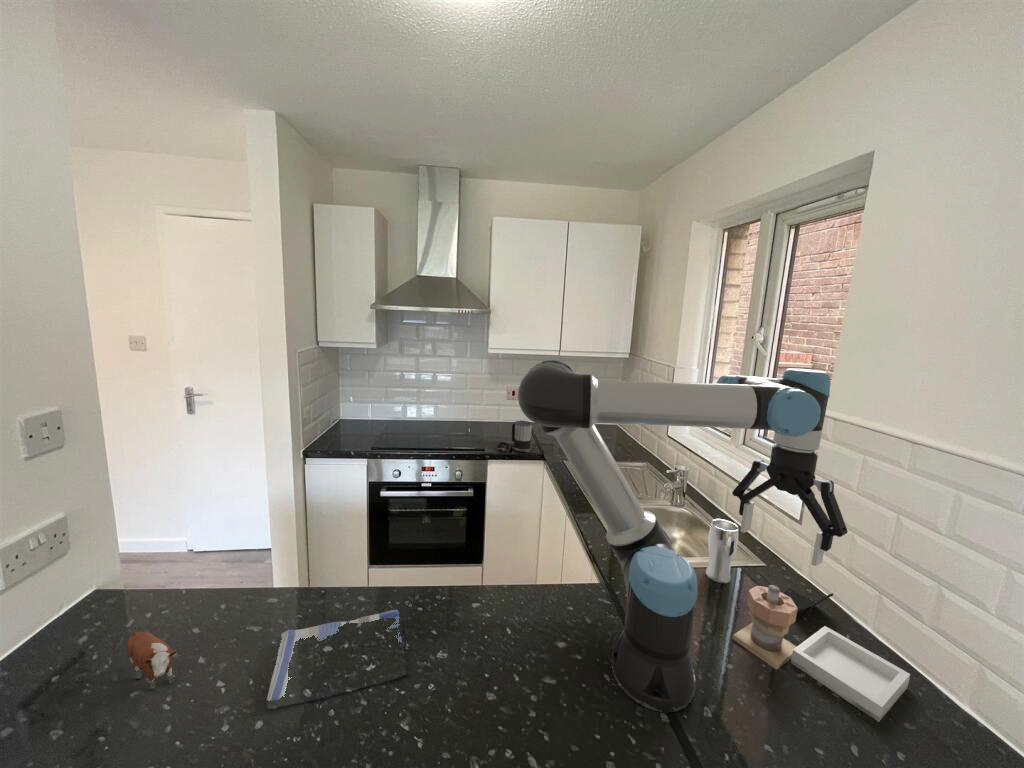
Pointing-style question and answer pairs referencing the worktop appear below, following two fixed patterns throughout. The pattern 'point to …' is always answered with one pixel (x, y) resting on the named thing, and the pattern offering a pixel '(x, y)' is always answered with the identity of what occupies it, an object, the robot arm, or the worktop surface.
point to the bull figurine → (150, 654)
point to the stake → (766, 639)
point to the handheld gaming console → (803, 601)
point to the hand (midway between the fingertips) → (778, 546)
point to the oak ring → (768, 626)
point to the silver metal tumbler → (721, 549)
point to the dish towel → (321, 632)
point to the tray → (851, 671)
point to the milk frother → (520, 435)
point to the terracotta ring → (772, 607)
